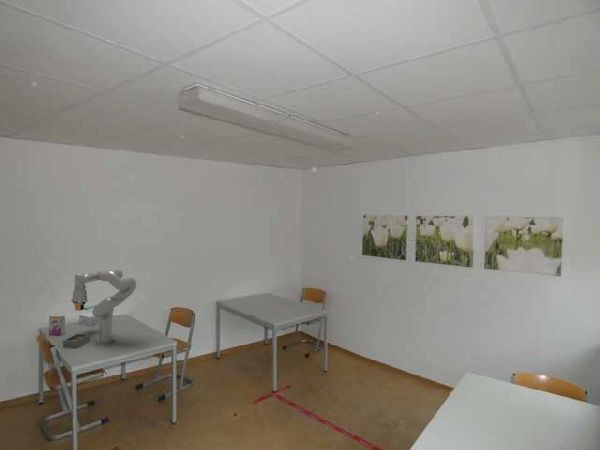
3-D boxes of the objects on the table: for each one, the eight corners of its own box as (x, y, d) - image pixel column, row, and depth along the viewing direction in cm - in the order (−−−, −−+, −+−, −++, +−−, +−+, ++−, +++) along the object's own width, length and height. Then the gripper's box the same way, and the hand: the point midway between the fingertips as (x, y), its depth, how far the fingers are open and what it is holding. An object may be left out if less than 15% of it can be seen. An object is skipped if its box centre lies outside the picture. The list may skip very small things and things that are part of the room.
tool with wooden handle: (87, 305, 316) (87, 297, 316) (99, 305, 315) (99, 298, 315) (71, 311, 295) (71, 303, 295) (83, 312, 295) (84, 303, 295)
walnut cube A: (83, 341, 288) (83, 337, 288) (80, 343, 284) (80, 338, 284) (78, 341, 288) (78, 336, 288) (75, 343, 284) (75, 338, 284)
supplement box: (103, 323, 338) (103, 313, 338) (90, 327, 327) (90, 317, 326) (92, 320, 346) (92, 311, 346) (78, 324, 334) (79, 314, 334)
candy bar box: (48, 334, 303) (48, 315, 302) (53, 332, 308) (53, 314, 307) (60, 335, 302) (60, 316, 301) (65, 333, 307) (65, 315, 306)
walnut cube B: (78, 344, 282) (78, 339, 282) (76, 346, 278) (76, 341, 278) (72, 344, 281) (72, 339, 281) (70, 346, 277) (70, 341, 277)
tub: (76, 341, 291) (76, 333, 291) (89, 341, 291) (89, 334, 290) (62, 348, 275) (63, 340, 275) (76, 349, 275) (76, 341, 274)
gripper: (92, 287, 300) (91, 308, 300) (73, 286, 301) (72, 307, 301) (86, 289, 292) (86, 311, 293) (67, 288, 293) (66, 310, 294)
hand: (79, 309), depth 297 cm, fingers closed on tool with wooden handle, 4 cm apart
